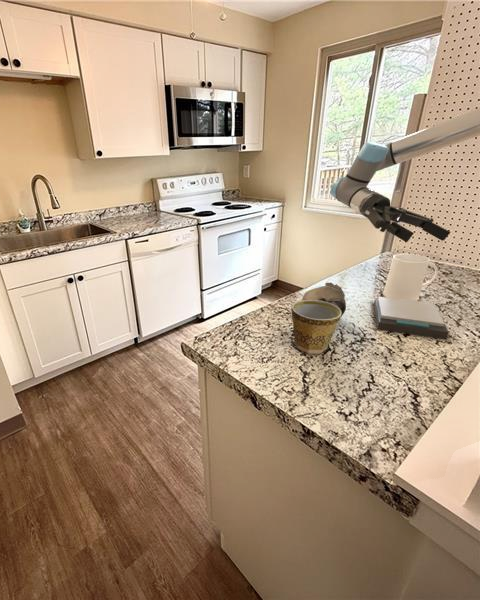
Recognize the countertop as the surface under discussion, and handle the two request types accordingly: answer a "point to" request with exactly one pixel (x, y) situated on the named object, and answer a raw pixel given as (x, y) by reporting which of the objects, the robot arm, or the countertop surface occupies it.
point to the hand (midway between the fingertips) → (428, 237)
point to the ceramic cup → (314, 324)
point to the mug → (407, 276)
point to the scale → (409, 317)
